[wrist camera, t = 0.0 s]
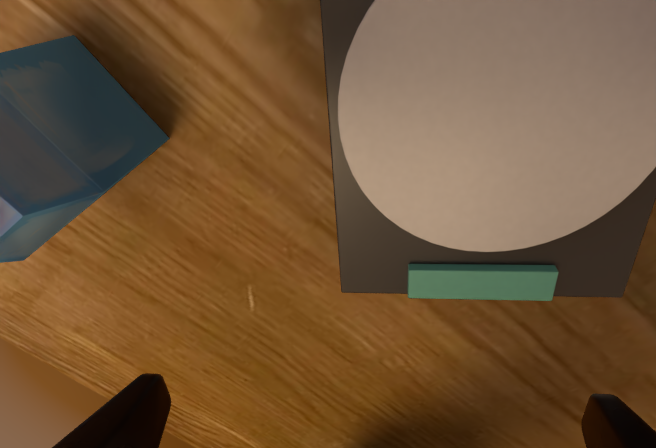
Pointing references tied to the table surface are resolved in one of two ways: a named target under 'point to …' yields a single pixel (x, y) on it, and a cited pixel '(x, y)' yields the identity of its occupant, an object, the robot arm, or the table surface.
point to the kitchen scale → (491, 144)
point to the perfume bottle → (61, 140)
